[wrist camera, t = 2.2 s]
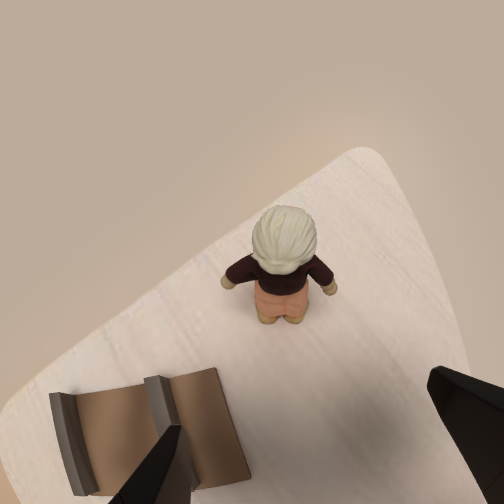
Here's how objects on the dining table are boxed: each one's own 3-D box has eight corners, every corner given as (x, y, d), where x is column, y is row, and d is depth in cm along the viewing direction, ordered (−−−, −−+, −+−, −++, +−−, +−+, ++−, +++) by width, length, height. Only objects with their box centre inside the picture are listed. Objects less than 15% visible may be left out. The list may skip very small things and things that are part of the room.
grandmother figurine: (314, 280, 26) (349, 182, 15) (324, 322, 24) (374, 244, 13) (227, 293, 26) (201, 198, 15) (232, 336, 24) (205, 267, 13)
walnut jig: (216, 368, 22) (209, 362, 20) (251, 476, 18) (249, 487, 15) (69, 397, 21) (48, 393, 18) (95, 493, 16) (75, 500, 13)
